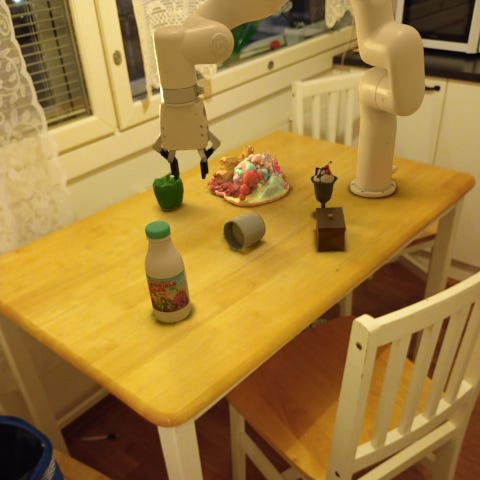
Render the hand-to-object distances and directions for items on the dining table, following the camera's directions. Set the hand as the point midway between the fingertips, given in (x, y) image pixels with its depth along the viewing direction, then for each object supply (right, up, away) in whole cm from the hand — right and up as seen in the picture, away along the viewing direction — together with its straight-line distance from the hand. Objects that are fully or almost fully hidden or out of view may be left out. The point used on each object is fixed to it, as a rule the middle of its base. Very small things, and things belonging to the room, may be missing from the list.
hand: (190, 176), depth 120 cm
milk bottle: (-3, -31, -11) cm, 33 cm away
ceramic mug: (+12, -14, +10) cm, 21 cm away
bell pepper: (-8, -1, +29) cm, 30 cm away
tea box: (+33, -13, +8) cm, 36 cm away
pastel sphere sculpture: (+15, +7, +36) cm, 39 cm away
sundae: (+33, -5, +18) cm, 38 cm away
